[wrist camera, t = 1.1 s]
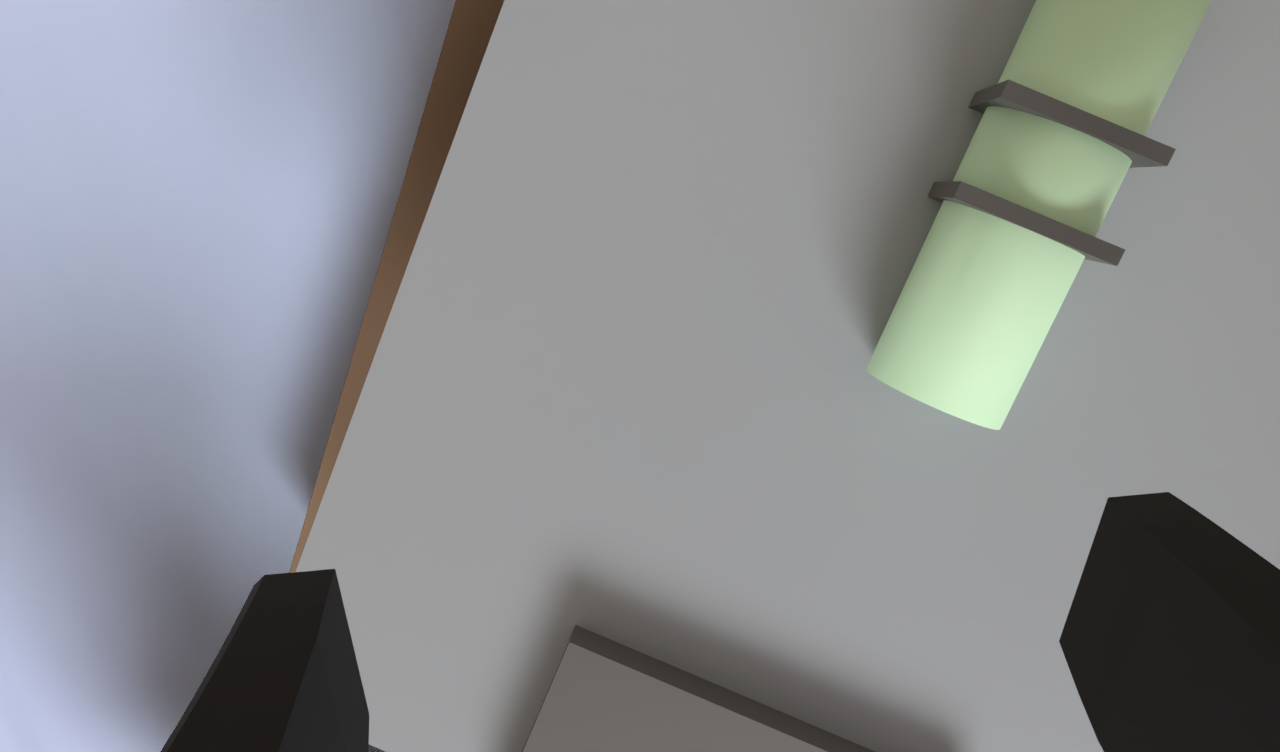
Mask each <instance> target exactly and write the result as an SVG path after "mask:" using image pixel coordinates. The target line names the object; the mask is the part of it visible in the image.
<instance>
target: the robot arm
mask: <svg viewBox="0 0 1280 752" xmlns="http://www.w3.org/2000/svg"><path fill="white" fill-rule="evenodd" d="M1059 643H1060V645H1061V648H1062V651H1063V653H1064V656H1065V659H1066V661H1067V664H1068V667H1069V669H1070V672H1071V675H1072V677H1073V680H1074V683H1075V685H1076V688H1077V691H1078V693H1079V696H1080V698H1081V701H1082V703H1083V706H1084V708H1085V710H1086V713H1087V715H1088V718H1089V720H1090V723H1091V725H1092V727H1093V730H1094V732H1095V735H1096V737H1097V740H1098V742H1099V743H1100V745H1101V747H1102V749H1103V751H1104V752H1280V569H1278V568H1277V567H1275V566H1274V565H1273V564H1271V563H1270V562H1268V561H1267V560H1266V559H1264V558H1263V557H1262V556H1260V555H1259V554H1257V553H1256V552H1255V551H1253V550H1252V549H1250V548H1249V547H1248V546H1246V545H1245V544H1243V543H1242V542H1241V541H1239V540H1238V539H1236V538H1235V537H1234V536H1232V535H1231V534H1229V533H1228V532H1227V531H1225V530H1224V529H1222V528H1221V527H1220V526H1218V525H1217V524H1215V523H1214V522H1213V521H1211V520H1210V519H1208V518H1207V517H1205V516H1204V515H1202V514H1201V513H1200V512H1198V511H1197V510H1195V509H1194V508H1192V507H1191V506H1189V505H1188V504H1186V503H1185V502H1183V501H1182V500H1180V499H1179V498H1177V497H1176V496H1174V495H1173V494H1171V493H1170V492H1162V493H1151V494H1140V495H1129V496H1119V497H1108V499H1107V502H1106V505H1105V508H1104V511H1103V514H1102V517H1101V520H1100V523H1099V526H1098V528H1097V531H1096V534H1095V537H1094V540H1093V543H1092V546H1091V549H1090V552H1089V555H1088V558H1087V561H1086V564H1085V567H1084V569H1083V572H1082V575H1081V578H1080V581H1079V584H1078V587H1077V590H1076V593H1075V596H1074V599H1073V602H1072V605H1071V608H1070V610H1069V613H1068V616H1067V619H1066V622H1065V625H1064V628H1063V631H1062V634H1061V637H1060V640H1059ZM368 748H369V711H368V706H367V702H366V698H365V694H364V689H363V685H362V681H361V677H360V672H359V668H358V664H357V660H356V655H355V651H354V647H353V643H352V638H351V634H350V630H349V626H348V621H347V617H346V613H345V608H344V604H343V600H342V596H341V591H340V587H339V583H338V579H337V574H336V570H335V569H326V570H316V571H305V572H294V573H283V574H272V575H264V576H263V577H262V578H261V579H260V580H259V581H258V582H257V583H256V584H255V585H254V587H253V589H252V590H251V592H250V594H249V596H248V598H247V600H246V602H245V604H244V606H243V608H242V610H241V612H240V614H239V616H238V618H237V620H236V622H235V623H234V625H233V627H232V629H231V631H230V633H229V635H228V637H227V639H226V640H225V642H224V644H223V646H222V648H221V650H220V651H219V653H218V655H217V657H216V659H215V660H214V662H213V664H212V666H211V668H210V669H209V671H208V673H207V675H206V676H205V678H204V680H203V682H202V683H201V685H200V687H199V689H198V690H197V692H196V694H195V696H194V697H193V699H192V701H191V702H190V704H189V706H188V708H187V709H186V711H185V713H184V715H183V716H182V718H181V720H180V721H179V723H178V725H177V726H176V728H175V729H174V731H173V733H172V734H171V736H170V737H169V739H168V741H167V742H166V744H165V746H164V747H163V749H162V750H161V752H368Z"/></svg>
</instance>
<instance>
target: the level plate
mask: <svg viewBox="0 0 1280 752" xmlns="http://www.w3.org/2000/svg"><path fill="white" fill-rule="evenodd" d="M1162 492H1170V493H1171V494H1173V495H1174V496H1176V497H1177V498H1179V499H1180V500H1182V501H1183V502H1185V503H1186V504H1188V505H1189V506H1191V507H1192V508H1194V509H1195V510H1197V511H1198V512H1200V513H1201V514H1202V515H1204V516H1205V517H1207V518H1208V519H1210V520H1211V521H1213V522H1214V523H1215V524H1217V525H1218V526H1220V527H1221V528H1222V529H1224V530H1225V531H1227V532H1228V533H1229V534H1231V535H1232V536H1234V537H1235V538H1236V539H1238V540H1239V541H1241V542H1242V543H1243V544H1245V545H1246V546H1248V547H1249V548H1250V549H1252V550H1253V551H1255V552H1256V553H1257V554H1259V555H1260V556H1262V557H1263V558H1264V559H1266V560H1267V561H1268V562H1270V563H1271V564H1273V565H1274V566H1275V567H1277V568H1278V569H1280V0H504V3H503V6H502V8H501V11H500V14H499V17H498V19H497V22H496V25H495V27H494V30H493V33H492V36H491V38H490V41H489V44H488V47H487V49H486V52H485V55H484V58H483V60H482V63H481V66H480V69H479V71H478V74H477V77H476V79H475V82H474V85H473V88H472V90H471V93H470V96H469V99H468V101H467V104H466V107H465V110H464V112H463V115H462V118H461V121H460V123H459V126H458V129H457V131H456V134H455V137H454V140H453V142H452V145H451V148H450V151H449V153H448V156H447V159H446V162H445V164H444V167H443V170H442V173H441V175H440V178H439V181H438V183H437V186H436V189H435V192H434V194H433V197H432V200H431V203H430V205H429V208H428V211H427V214H426V216H425V219H424V222H423V225H422V227H421V230H420V233H419V236H418V238H417V241H416V244H415V246H414V249H413V252H412V255H411V257H410V260H409V263H408V266H407V268H406V271H405V274H404V277H403V279H402V282H401V285H400V288H399V290H398V293H397V296H396V298H395V301H394V304H393V307H392V309H391V312H390V315H389V318H388V320H387V323H386V326H385V329H384V331H383V334H382V337H381V340H380V342H379V345H378V348H377V350H376V353H375V356H374V359H373V361H372V364H371V367H370V370H369V372H368V375H367V378H366V381H365V383H364V386H363V389H362V392H361V394H360V397H359V400H358V402H357V405H356V408H355V411H354V413H353V416H352V419H351V422H350V424H349V427H348V430H347V433H346V435H345V438H344V441H343V444H342V446H341V449H340V452H339V454H338V457H337V460H336V463H335V465H334V468H333V471H332V474H331V476H330V479H329V482H328V485H327V487H326V490H325V493H324V496H323V498H322V501H321V504H320V507H319V509H318V512H317V515H316V517H315V520H314V523H313V526H312V528H311V531H310V534H309V537H308V539H307V542H306V545H305V548H304V550H303V553H302V556H301V559H300V561H299V564H298V567H297V569H296V572H305V571H316V570H326V569H335V570H336V574H337V579H338V583H339V587H340V591H341V596H342V600H343V604H344V608H345V613H346V617H347V621H348V626H349V630H350V634H351V638H352V643H353V647H354V651H355V655H356V660H357V664H358V668H359V672H360V677H361V681H362V685H363V689H364V694H365V698H366V702H367V706H368V711H369V745H371V746H373V747H376V748H378V749H380V750H383V751H385V752H1104V751H1103V749H1102V747H1101V745H1100V743H1099V742H1098V740H1097V737H1096V735H1095V732H1094V730H1093V727H1092V725H1091V723H1090V720H1089V718H1088V715H1087V713H1086V710H1085V708H1084V706H1083V703H1082V701H1081V698H1080V696H1079V693H1078V691H1077V688H1076V685H1075V683H1074V680H1073V677H1072V675H1071V672H1070V669H1069V667H1068V664H1067V661H1066V659H1065V656H1064V653H1063V651H1062V648H1061V645H1060V643H1059V640H1060V637H1061V634H1062V631H1063V628H1064V625H1065V622H1066V619H1067V616H1068V613H1069V610H1070V608H1071V605H1072V602H1073V599H1074V596H1075V593H1076V590H1077V587H1078V584H1079V581H1080V578H1081V575H1082V572H1083V569H1084V567H1085V564H1086V561H1087V558H1088V555H1089V552H1090V549H1091V546H1092V543H1093V540H1094V537H1095V534H1096V531H1097V528H1098V526H1099V523H1100V520H1101V517H1102V514H1103V511H1104V508H1105V505H1106V502H1107V499H1108V497H1119V496H1129V495H1140V494H1151V493H1162Z"/></svg>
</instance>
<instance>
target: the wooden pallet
mask: <svg viewBox="0 0 1280 752" xmlns="http://www.w3.org/2000/svg"><path fill="white" fill-rule="evenodd" d="M503 3H504V0H456V3H455V6H454V10H453V13H452V17H451V20H450V23H449V27H448V30H447V34H446V37H445V41H444V44H443V47H442V51H441V54H440V58H439V61H438V65H437V68H436V71H435V75H434V78H433V82H432V85H431V89H430V92H429V95H428V99H427V102H426V106H425V109H424V113H423V116H422V119H421V123H420V126H419V130H418V133H417V137H416V140H415V144H414V147H413V150H412V154H411V157H410V161H409V164H408V168H407V171H406V174H405V178H404V181H403V185H402V188H401V192H400V195H399V198H398V202H397V205H396V209H395V212H394V216H393V219H392V222H391V226H390V229H389V233H388V236H387V240H386V243H385V247H384V250H383V253H382V257H381V260H380V264H379V267H378V271H377V274H376V277H375V281H374V284H373V288H372V291H371V295H370V298H369V301H368V305H367V308H366V312H365V315H364V319H363V322H362V325H361V329H360V332H359V336H358V339H357V343H356V346H355V349H354V353H353V356H352V360H351V363H350V367H349V370H348V374H347V377H346V380H345V384H344V387H343V391H342V394H341V398H340V401H339V404H338V408H337V411H336V415H335V418H334V422H333V425H332V428H331V432H330V435H329V439H328V442H327V446H326V449H325V452H324V456H323V459H322V463H321V466H320V470H319V473H318V476H317V480H316V483H315V487H314V490H313V494H312V497H311V501H310V504H309V507H308V511H307V514H306V518H305V521H304V525H303V528H302V531H301V535H300V538H299V542H298V545H297V549H296V552H295V555H294V559H293V562H292V566H291V569H290V573H294V572H296V569H297V567H298V564H299V561H300V559H301V556H302V553H303V550H304V548H305V545H306V542H307V539H308V537H309V534H310V531H311V528H312V526H313V523H314V520H315V517H316V515H317V512H318V509H319V507H320V504H321V501H322V498H323V496H324V493H325V490H326V487H327V485H328V482H329V479H330V476H331V474H332V471H333V468H334V465H335V463H336V460H337V457H338V454H339V452H340V449H341V446H342V444H343V441H344V438H345V435H346V433H347V430H348V427H349V424H350V422H351V419H352V416H353V413H354V411H355V408H356V405H357V402H358V400H359V397H360V394H361V392H362V389H363V386H364V383H365V381H366V378H367V375H368V372H369V370H370V367H371V364H372V361H373V359H374V356H375V353H376V350H377V348H378V345H379V342H380V340H381V337H382V334H383V331H384V329H385V326H386V323H387V320H388V318H389V315H390V312H391V309H392V307H393V304H394V301H395V298H396V296H397V293H398V290H399V288H400V285H401V282H402V279H403V277H404V274H405V271H406V268H407V266H408V263H409V260H410V257H411V255H412V252H413V249H414V246H415V244H416V241H417V238H418V236H419V233H420V230H421V227H422V225H423V222H424V219H425V216H426V214H427V211H428V208H429V205H430V203H431V200H432V197H433V194H434V192H435V189H436V186H437V183H438V181H439V178H440V175H441V173H442V170H443V167H444V164H445V162H446V159H447V156H448V153H449V151H450V148H451V145H452V142H453V140H454V137H455V134H456V131H457V129H458V126H459V123H460V121H461V118H462V115H463V112H464V110H465V107H466V104H467V101H468V99H469V96H470V93H471V90H472V88H473V85H474V82H475V79H476V77H477V74H478V71H479V69H480V66H481V63H482V60H483V58H484V55H485V52H486V49H487V47H488V44H489V41H490V38H491V36H492V33H493V30H494V27H495V25H496V22H497V19H498V17H499V14H500V11H501V8H502V6H503Z"/></svg>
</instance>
